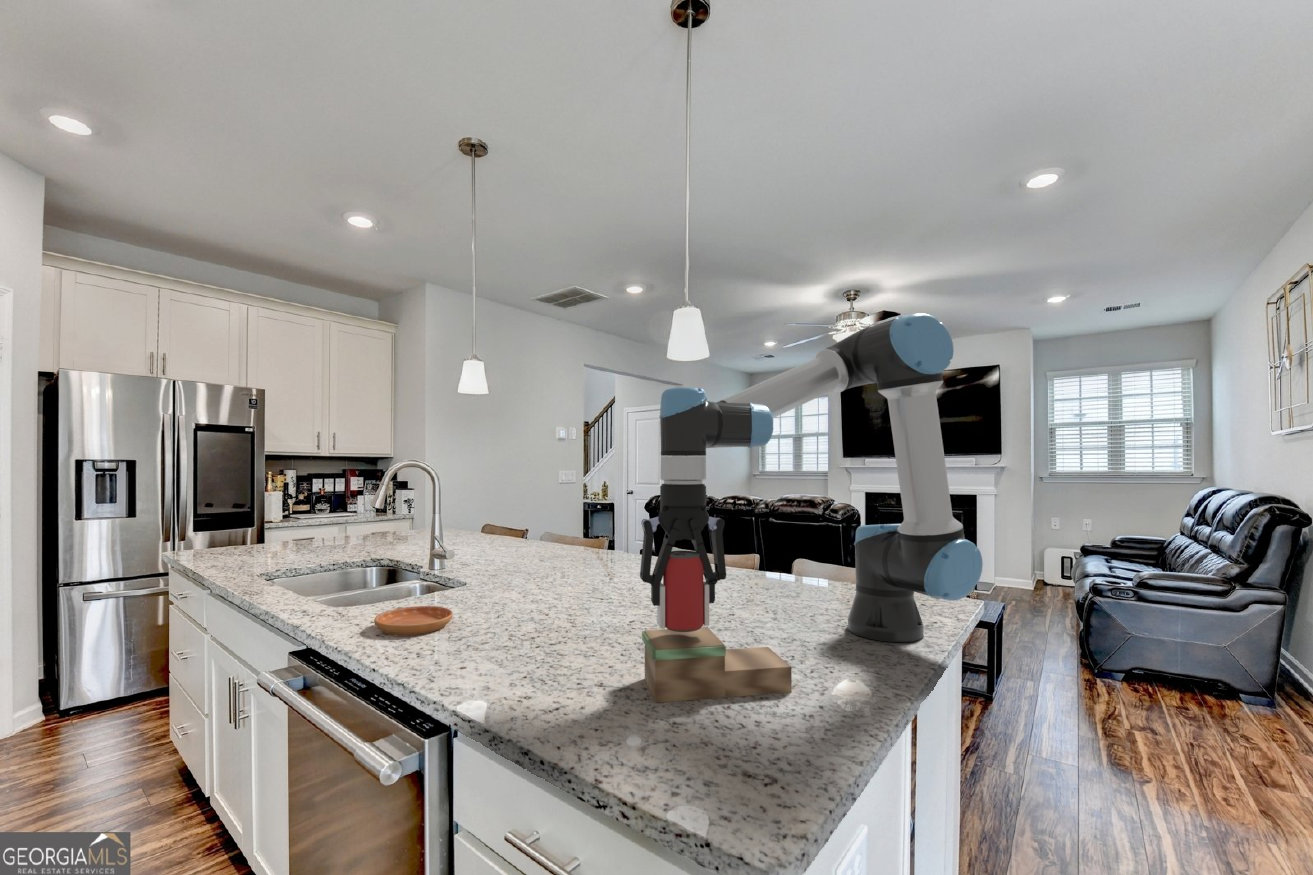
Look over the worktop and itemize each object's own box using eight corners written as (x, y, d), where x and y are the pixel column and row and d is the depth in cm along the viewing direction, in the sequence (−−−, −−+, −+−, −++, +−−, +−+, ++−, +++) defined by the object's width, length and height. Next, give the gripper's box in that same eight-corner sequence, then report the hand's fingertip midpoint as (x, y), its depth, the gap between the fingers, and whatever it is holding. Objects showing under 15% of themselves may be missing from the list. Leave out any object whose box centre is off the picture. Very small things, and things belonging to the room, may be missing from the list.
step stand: (768, 670, 103) (768, 623, 103) (792, 693, 93) (792, 642, 93) (642, 678, 99) (642, 630, 99) (652, 704, 88) (653, 650, 89)
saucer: (466, 620, 135) (466, 607, 135) (424, 641, 119) (424, 627, 119) (405, 616, 139) (405, 603, 139) (356, 636, 123) (357, 621, 123)
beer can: (682, 619, 100) (682, 548, 100) (711, 627, 95) (711, 553, 96) (654, 627, 95) (654, 553, 96) (684, 636, 91) (684, 557, 91)
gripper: (733, 481, 102) (733, 615, 101) (621, 481, 98) (620, 621, 97) (747, 483, 94) (748, 627, 93) (627, 483, 91) (626, 634, 90)
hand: (683, 624), depth 95 cm, fingers closed on beer can, 7 cm apart
